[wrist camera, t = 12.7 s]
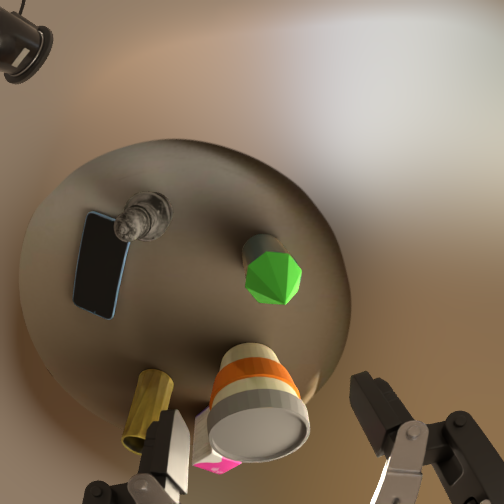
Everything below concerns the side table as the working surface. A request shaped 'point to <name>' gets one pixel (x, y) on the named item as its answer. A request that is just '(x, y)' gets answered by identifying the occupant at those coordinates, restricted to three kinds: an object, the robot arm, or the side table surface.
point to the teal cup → (261, 248)
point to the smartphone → (99, 266)
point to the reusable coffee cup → (255, 407)
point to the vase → (146, 407)
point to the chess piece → (144, 217)
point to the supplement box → (207, 448)
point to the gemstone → (273, 278)
